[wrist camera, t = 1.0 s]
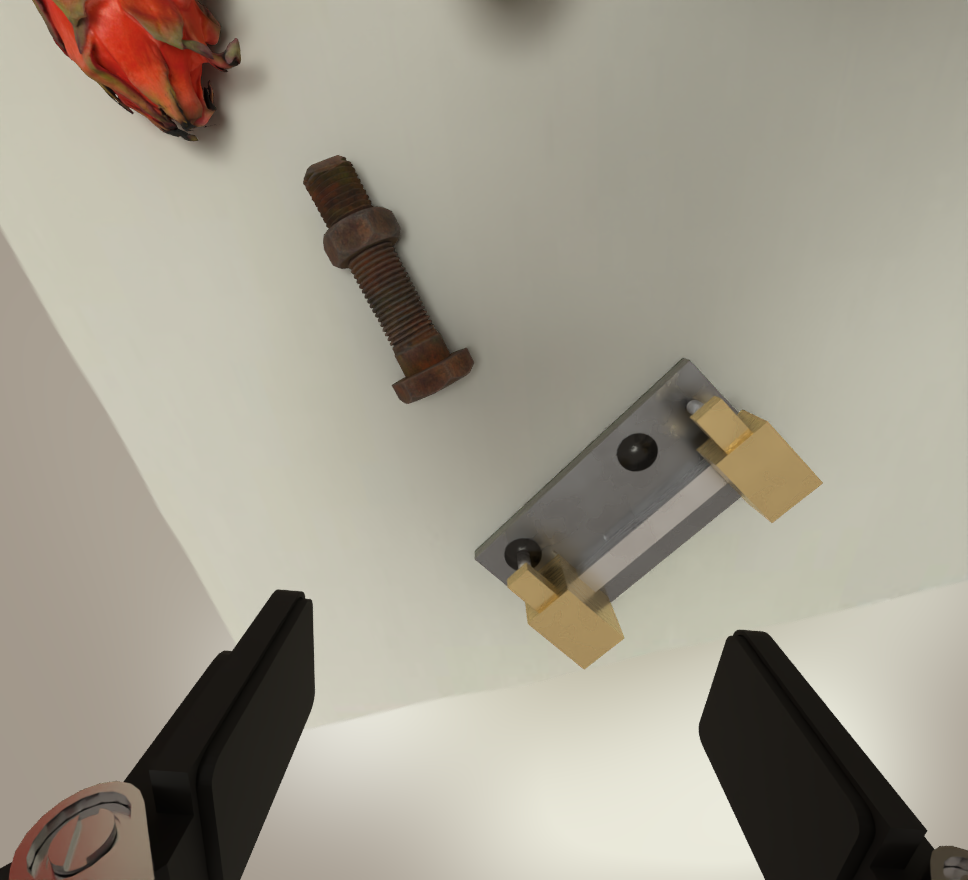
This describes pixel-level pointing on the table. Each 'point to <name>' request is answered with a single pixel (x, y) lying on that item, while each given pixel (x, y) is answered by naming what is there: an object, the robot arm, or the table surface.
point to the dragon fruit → (144, 54)
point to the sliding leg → (752, 458)
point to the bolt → (382, 278)
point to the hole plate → (611, 517)
